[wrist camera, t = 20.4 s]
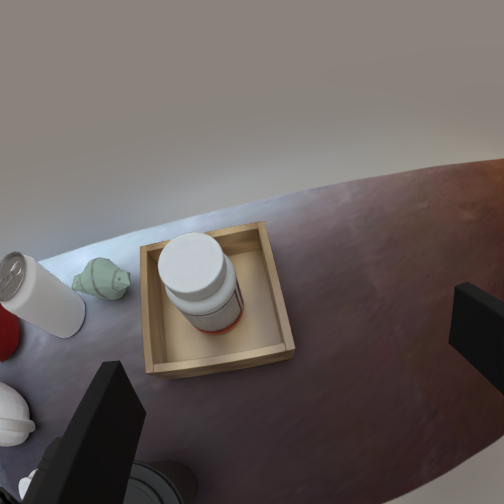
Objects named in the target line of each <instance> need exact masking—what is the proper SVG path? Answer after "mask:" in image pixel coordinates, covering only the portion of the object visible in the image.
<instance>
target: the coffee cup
mask: <svg viewBox="0 0 504 504" xmlns="http://www.w3.org/2000/svg"><path fill="white" fill-rule="evenodd" d="M196 489H197V484H196V480H195V477H194V476H193V474H192V472H191V471H190V470H189V469H188V468H186V467H185V466H184V465H182V464H180V463H178V462H173V461H160V462H148V463H145V462H141V461H138V460H135V459H134V461H133V465H132V468H131V472H130V477H129V481H128V485H127V489H126V493H125V497H124V502H123V504H190V502H191V501H192V499H193V497H194V495H195V493H196Z"/></svg>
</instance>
